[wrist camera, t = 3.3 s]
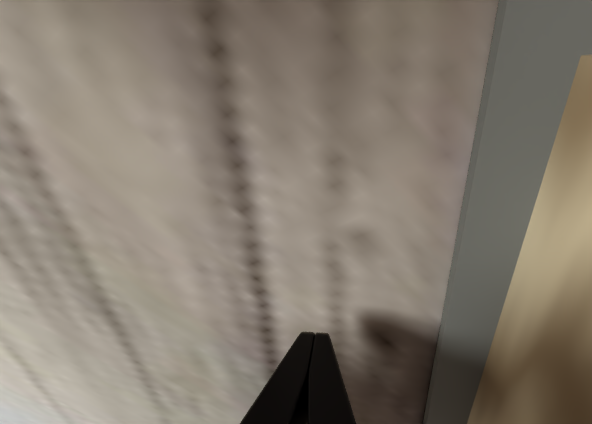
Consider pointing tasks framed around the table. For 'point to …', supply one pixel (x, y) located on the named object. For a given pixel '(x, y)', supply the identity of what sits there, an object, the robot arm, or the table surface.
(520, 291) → the t block
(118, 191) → the table surface
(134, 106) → the table surface
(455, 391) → the push mat
